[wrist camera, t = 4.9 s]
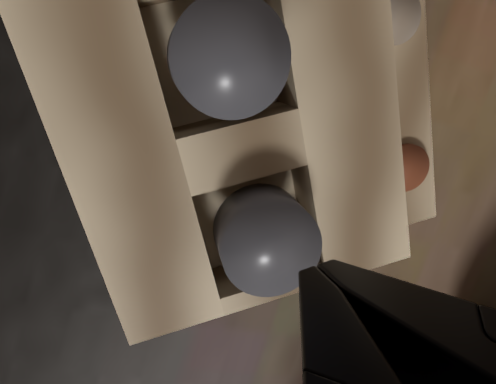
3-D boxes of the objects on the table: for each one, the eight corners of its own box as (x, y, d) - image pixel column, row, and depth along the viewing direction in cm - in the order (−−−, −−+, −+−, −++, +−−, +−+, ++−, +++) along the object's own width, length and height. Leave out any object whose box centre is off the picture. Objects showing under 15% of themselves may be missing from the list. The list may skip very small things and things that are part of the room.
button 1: (224, 278, 17) (234, 309, 15) (203, 197, 15) (210, 219, 13) (307, 253, 17) (328, 279, 15) (293, 172, 16) (314, 189, 14)
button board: (134, 296, 19) (129, 345, 16) (-55, -221, 12) (-131, -320, 9) (423, 209, 21) (472, 237, 18) (393, -277, 14) (463, -374, 11)
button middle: (182, 122, 14) (187, 132, 12) (153, 12, 13) (153, 3, 11) (280, 98, 15) (300, 104, 13) (260, -11, 14) (279, -23, 11)
